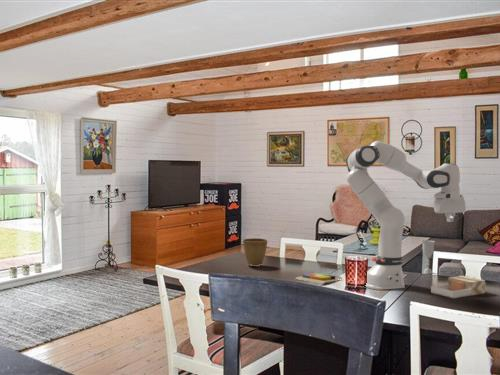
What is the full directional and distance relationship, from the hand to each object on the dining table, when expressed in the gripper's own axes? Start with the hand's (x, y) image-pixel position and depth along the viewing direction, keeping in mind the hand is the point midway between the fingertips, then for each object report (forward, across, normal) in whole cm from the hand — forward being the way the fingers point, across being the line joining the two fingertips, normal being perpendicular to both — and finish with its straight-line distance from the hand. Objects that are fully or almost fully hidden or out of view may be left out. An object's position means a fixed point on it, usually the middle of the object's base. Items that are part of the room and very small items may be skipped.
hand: (450, 221), depth 242 cm
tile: (+28, +16, +18) cm, 37 cm away
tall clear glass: (+31, -10, -22) cm, 40 cm away
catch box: (+31, +22, +18) cm, 42 cm away
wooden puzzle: (+32, +57, -35) cm, 74 cm away
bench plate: (+31, +11, +18) cm, 38 cm away
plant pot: (+31, +67, -85) cm, 113 cm away
